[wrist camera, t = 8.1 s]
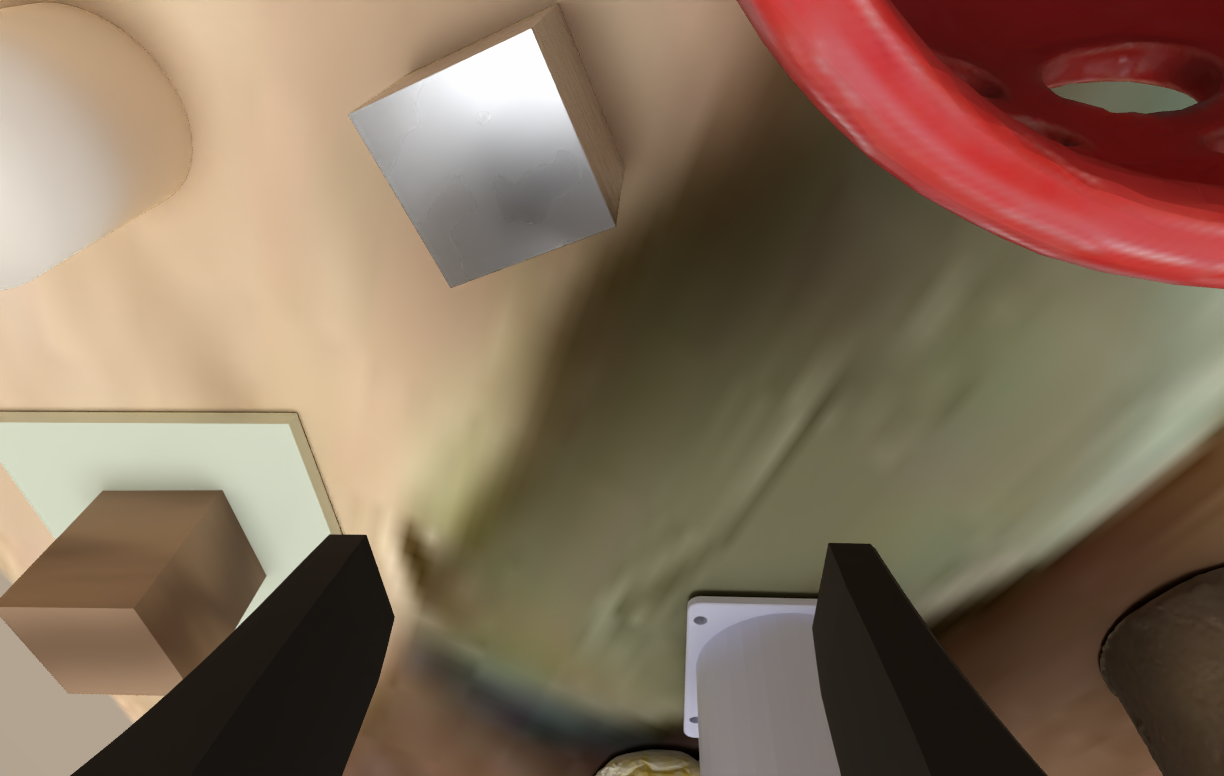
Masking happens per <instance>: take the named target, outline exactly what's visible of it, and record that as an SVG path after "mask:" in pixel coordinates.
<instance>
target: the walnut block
mask: <svg viewBox="0 0 1224 776" xmlns="http://www.w3.org/2000/svg"><path fill="white" fill-rule="evenodd" d="M265 578H266V574H265V572H264V570H263V568H262V566H261V564H260V562H259V560H258V558H257V556H256V554H255V552H254V550H253V548H252V547H251V545H250V543H249V541H248V539H247V537H246V535H245V533H244V531H243V529H242V527H241V525H240V523H239V521H238V519H237V517H236V515H235V513H234V512H233V510H232V508H231V506H230V504H229V502H228V500H227V498H226V496H225V494H224V492H223V490H135V491H102V492H101V493H100V494H99V495H98V496H97V497H96V498H95V499H94V500H93V501H92V502H91V503H90V504H89V505H88V507H87V508H86V509H85V510H84V511H83V512H82V513H81V514H80V515H79V516H78V517H77V518H76V519H75V520H74V521H73V522H72V523H71V524H70V525H69V526H68V527H67V529H66V530H65V531H64V532H63V533H62V534H61V535H60V536H59V537H58V538H57V539H56V540H55V541H54V542H53V543H52V544H51V545H50V546H49V547H48V548H47V550H46V551H45V552H44V553H43V554H42V555H41V556H40V557H39V558H38V559H37V560H36V561H35V562H34V563H33V564H32V565H31V566H30V567H29V568H28V569H27V570H26V572H25V573H24V574H23V575H22V576H21V577H20V578H19V579H18V580H17V581H16V582H15V583H14V584H13V585H12V586H11V587H10V588H9V589H8V590H7V592H6V593H5V594H4V595H3V596H2V597H1V598H0V617H1V618H2V619H3V620H4V621H5V623H6V624H7V625H8V626H9V627H10V628H11V629H12V630H13V632H14V633H15V634H16V635H17V636H18V637H19V638H20V640H21V641H22V642H23V643H24V644H25V645H26V646H27V647H28V648H29V650H30V651H31V652H32V653H33V654H34V655H35V656H36V658H37V659H38V660H39V661H40V662H41V663H42V664H43V666H44V667H45V668H46V669H47V670H48V671H49V672H50V673H51V674H52V676H53V677H54V678H55V679H56V680H57V681H58V682H59V684H60V685H61V686H62V687H63V688H64V689H65V690H66V691H67V693H70V694H112V695H154V696H165V695H166V694H168V693H169V692H170V691H171V690H172V689H173V688H174V687H175V686H176V685H177V684H178V683H179V682H181V681H182V680H183V679H184V678H185V677H186V676H187V675H188V674H189V673H190V672H191V671H193V670H194V669H195V668H196V667H197V666H198V665H199V664H200V663H201V662H202V661H203V660H204V659H205V658H207V657H208V656H209V655H210V654H211V653H212V652H213V651H214V650H215V649H216V648H217V647H218V646H219V645H220V644H221V643H222V642H223V641H224V640H225V639H226V638H227V637H228V636H229V635H230V634H231V633H232V632H233V631H234V630H235V629H236V627H237V625H238V624H239V622H240V620H241V618H242V617H243V615H244V613H245V612H246V610H247V608H248V607H249V605H250V603H251V602H252V600H253V598H254V596H255V595H256V593H257V591H258V590H259V588H260V586H261V585H262V583H263V581H264V580H265Z"/></svg>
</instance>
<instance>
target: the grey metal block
mask: <svg viewBox="0 0 1224 776" xmlns="http://www.w3.org/2000/svg"><path fill="white" fill-rule="evenodd" d="M348 115H349V117H350V119H351V120H352V122H353V124H354V125H355V127H356V129H357V131H358V132H359V134H360V136H361V137H362V139H363V141H364V142H365V144H366V146H367V147H368V149H369V151H370V152H371V154H372V156H373V158H374V159H375V161H376V163H377V164H378V166H379V168H380V169H381V171H382V173H383V174H384V176H385V178H386V179H387V181H388V183H389V185H390V186H391V188H392V190H393V191H394V193H395V195H396V196H397V198H398V200H399V201H400V203H401V205H402V206H403V208H404V210H405V211H406V213H407V215H408V217H409V218H410V220H411V222H412V223H413V225H414V227H415V228H416V230H417V232H418V233H419V235H420V237H421V238H422V240H423V242H424V244H425V245H426V247H427V249H428V250H429V252H430V254H431V255H432V257H433V259H434V260H435V262H436V264H437V265H438V267H439V269H440V271H441V272H442V274H443V276H444V277H445V279H446V281H447V282H448V284H449V286H450V287H451V288H452V287H455V286H458V285H460V284H463V283H466V282H468V281H471V280H474V279H477V278H479V277H482V276H485V275H487V274H490V273H493V272H495V271H498V270H501V269H503V268H506V267H509V266H511V265H514V264H517V263H520V262H522V261H525V260H528V259H530V258H533V257H536V256H538V255H541V254H544V253H546V252H549V251H552V250H554V249H557V248H560V247H563V246H565V245H568V244H571V243H573V242H576V241H579V240H581V239H584V238H587V237H589V236H592V235H595V234H597V233H600V232H603V231H606V230H608V229H611V228H614V227H616V222H617V215H618V208H619V201H620V195H621V188H622V181H623V174H624V166H623V163H622V161H621V158H620V156H619V153H618V151H617V148H616V146H615V143H614V141H613V138H612V136H611V133H610V131H609V128H608V126H607V123H606V121H605V118H604V116H603V113H602V111H601V108H600V106H599V103H598V101H597V98H596V96H595V93H594V91H593V88H592V86H591V83H590V81H589V78H588V76H587V73H586V71H585V68H584V66H583V63H582V61H581V58H580V56H579V53H578V51H577V48H576V46H575V43H574V41H573V38H572V36H571V33H570V31H569V28H568V26H567V23H566V21H565V18H564V16H563V13H562V11H561V8H560V6H559V3H557V4H555V5H552V6H550V7H548V8H546V9H544V10H542V11H540V12H538V13H536V14H534V15H531V16H529V17H527V18H525V19H523V20H521V21H519V22H517V23H515V24H512V25H510V26H508V27H506V28H504V29H502V30H500V31H498V32H496V33H494V34H491V35H489V36H487V37H485V38H483V39H481V40H479V41H477V42H475V43H473V44H470V45H468V46H466V47H464V48H462V49H460V50H458V51H456V52H454V53H452V54H449V55H447V56H445V57H443V58H441V59H439V60H437V61H435V62H433V63H431V64H428V65H426V66H424V67H422V68H420V69H418V70H416V71H414V72H412V73H409V74H408V75H406V76H405V77H403V78H402V79H400V80H399V81H397V82H396V83H394V84H393V85H391V86H390V87H388V88H387V89H385V90H384V91H383V92H381V93H380V94H378V95H377V96H375V97H374V98H372V99H371V100H369V101H368V102H366V103H365V104H363V105H362V106H360V107H359V108H357V109H356V110H354V111H353V112H351V113H350V114H348Z"/></svg>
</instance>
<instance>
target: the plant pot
mask: <svg viewBox="0 0 1224 776" xmlns="http://www.w3.org/2000/svg"><path fill="white" fill-rule="evenodd" d="M737 2H738V3H739V5H740V6H741V8H742V10H743V11H744V13H745V14H746V16H747V18H748V19H749V21H750V22H751V24H752V26H753V27H754V29H755V30H756V32H757V34H758V35H759V37H760V38H761V40H762V42H763V43H764V44H765V46H766V47H767V48H768V50H769V51H770V52H771V54H772V55H773V56H774V57H775V59H776V60H777V61H778V63H779V64H780V65H781V67H782V68H783V69H784V71H785V72H786V73H787V74H788V76H789V77H790V78H791V79H792V80H793V81H794V83H795V84H796V85H797V86H798V87H799V88H800V90H801V91H802V92H803V93H804V94H805V95H806V97H807V98H808V99H809V100H810V101H811V102H812V103H813V105H814V106H815V107H816V108H817V109H818V110H819V111H820V112H821V113H822V114H823V115H824V116H825V117H826V118H827V119H828V120H829V121H830V122H831V123H832V124H833V125H834V126H835V127H836V128H837V129H838V130H839V131H840V132H842V133H843V134H844V135H845V136H846V137H847V138H848V139H849V140H850V141H851V142H852V143H853V144H855V145H856V146H857V147H858V148H859V149H860V150H861V151H862V152H863V153H864V154H865V155H867V156H868V157H869V158H870V159H871V160H872V161H873V162H874V163H876V164H877V165H879V166H880V167H882V168H883V169H884V170H886V171H887V172H889V173H890V174H892V175H893V176H895V177H896V178H897V179H899V180H900V181H902V182H903V183H905V184H906V185H907V186H909V187H910V188H912V189H913V190H915V191H916V192H917V193H919V194H920V195H922V196H924V197H925V198H927V199H929V200H931V201H933V202H934V203H936V204H938V205H940V206H942V207H943V208H945V209H947V210H949V211H951V212H952V213H954V214H956V215H958V216H960V217H961V218H963V219H965V220H967V221H969V222H971V223H973V224H975V225H977V226H979V227H981V228H983V229H985V230H987V231H989V232H991V233H993V234H995V235H997V236H999V237H1001V238H1003V239H1005V240H1008V241H1010V242H1012V243H1015V244H1017V245H1019V246H1022V247H1024V248H1026V249H1029V250H1031V251H1033V252H1036V253H1038V254H1040V255H1044V256H1047V257H1051V258H1054V259H1058V260H1061V261H1065V262H1068V263H1072V264H1075V265H1079V266H1082V267H1086V268H1089V269H1093V270H1096V271H1100V272H1105V273H1111V274H1116V275H1122V276H1128V277H1133V278H1139V279H1145V280H1150V281H1156V282H1162V283H1167V284H1173V285H1184V286H1196V287H1208V288H1220V289H1224V0H737ZM1101 81H1130V82H1137V83H1143V84H1150V85H1155V86H1160V87H1165V88H1170V89H1173V90H1176V91H1179V92H1182V93H1185V94H1187V95H1188V96H1190V97H1192V98H1193V99H1195V100H1196V101H1197V102H1198V103H1197V104H1194V105H1192V106H1189V107H1187V108H1185V109H1182V110H1175V111H1163V112H1156V113H1149V114H1142V113H1136V112H1128V113H1112V112H1108V111H1107V110H1105V109H1103V108H1099V107H1096V106H1092V105H1088V104H1085V103H1081V102H1077V101H1073V100H1069V99H1065V98H1062V97H1060V96H1058V95H1056V94H1055V93H1054V92H1053V91H1051V90H1050V89H1049V88H1056V87H1059V86H1063V85H1066V84H1073V83H1087V82H1101Z"/></svg>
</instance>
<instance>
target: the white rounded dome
mask: <svg viewBox="0 0 1224 776" xmlns="http://www.w3.org/2000/svg"><path fill="white" fill-rule="evenodd" d="M191 161H192V136H191V131H190V125H189V122H188V118H187V115H186V112H185V109H184V107H183V105H182V102H181V100H180V98H179V96H178V94H177V92H176V90H175V89H174V87H173V85H172V83H171V82H170V80H169V79H168V77H167V76H166V75H165V73H164V72H163V70H162V69H161V68H160V66H159V65H158V64H157V63H156V62H155V60H154V59H153V58H152V57H151V56H150V55H149V54H148V53H147V52H146V51H145V50H144V49H143V48H142V47H141V46H140V45H139V44H138V43H137V42H136V41H135V40H133V39H132V38H131V37H130V36H129V35H127V34H126V33H125V32H123V31H122V30H120V29H119V28H118V27H116V26H115V25H113V24H112V23H110V22H108V21H106V20H105V19H103V18H101V17H99V16H97V15H95V14H93V13H90V12H88V11H86V10H83V9H80V8H77V7H74V6H70V5H65V4H60V3H48V2H41V3H33V4H26V5H20V6H13V7H7V8H1V9H0V290H6V289H10V288H14V287H18V286H21V285H23V284H25V283H28V282H29V281H31V280H33V279H35V278H36V277H38V276H40V275H41V274H43V273H45V272H46V271H48V270H50V269H51V268H53V267H55V266H56V265H58V264H60V263H61V262H63V261H65V260H66V259H68V258H70V257H71V256H73V255H75V254H76V253H78V252H80V251H81V250H83V249H85V248H86V247H88V246H90V245H91V244H93V243H95V242H96V241H98V240H100V239H101V238H103V237H105V236H106V235H108V234H110V233H111V232H113V231H115V230H116V229H118V228H120V227H122V226H123V225H125V224H127V223H128V222H130V221H132V220H133V219H135V218H137V217H138V216H140V215H142V214H143V213H145V212H147V211H148V210H150V209H152V208H153V207H155V206H157V205H158V204H160V203H162V202H163V201H165V200H166V199H168V198H169V197H171V196H172V195H173V194H174V193H175V192H176V191H177V190H178V189H179V188H180V187H181V185H182V184H183V183H184V181H185V179H186V177H187V175H188V172H189V169H190V165H191Z"/></svg>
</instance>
